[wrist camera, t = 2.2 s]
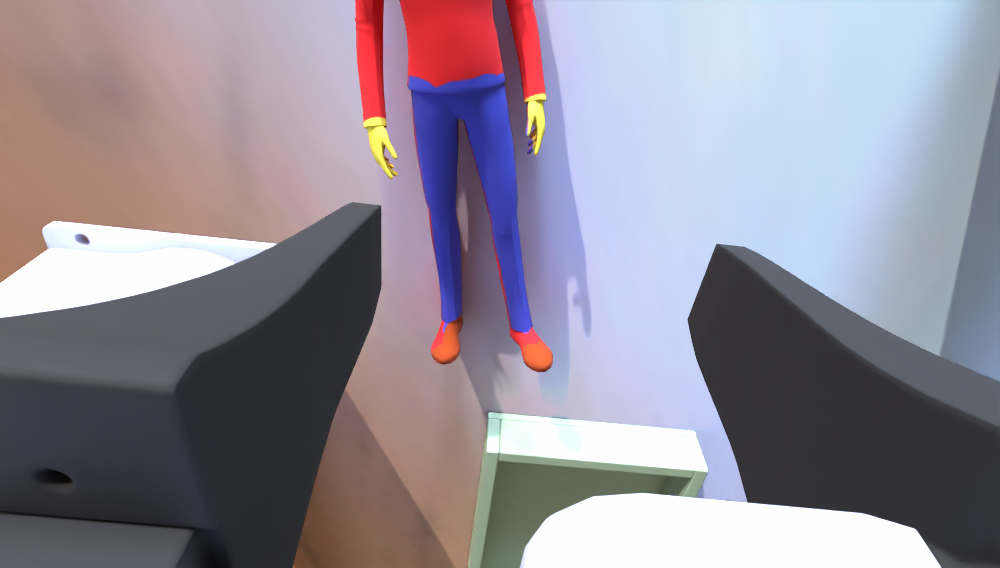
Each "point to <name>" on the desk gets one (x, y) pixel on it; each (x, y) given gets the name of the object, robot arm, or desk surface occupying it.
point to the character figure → (436, 109)
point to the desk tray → (568, 475)
